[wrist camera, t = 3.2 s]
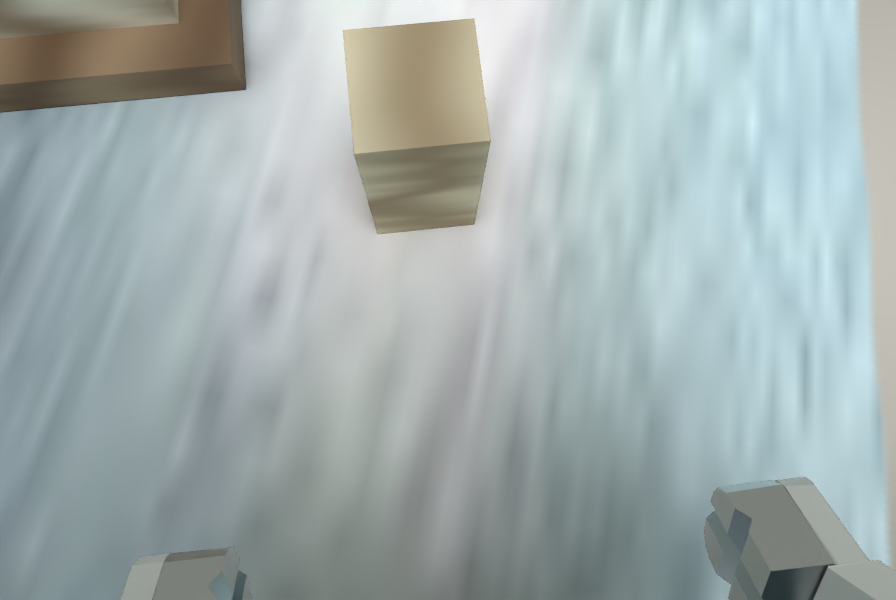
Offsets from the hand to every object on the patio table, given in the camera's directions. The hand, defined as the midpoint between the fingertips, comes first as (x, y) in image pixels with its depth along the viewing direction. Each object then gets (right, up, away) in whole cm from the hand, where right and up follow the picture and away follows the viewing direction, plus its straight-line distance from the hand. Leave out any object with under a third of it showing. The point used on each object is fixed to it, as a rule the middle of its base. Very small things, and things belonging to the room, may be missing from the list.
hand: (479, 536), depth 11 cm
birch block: (-2, +9, +16) cm, 18 cm away
